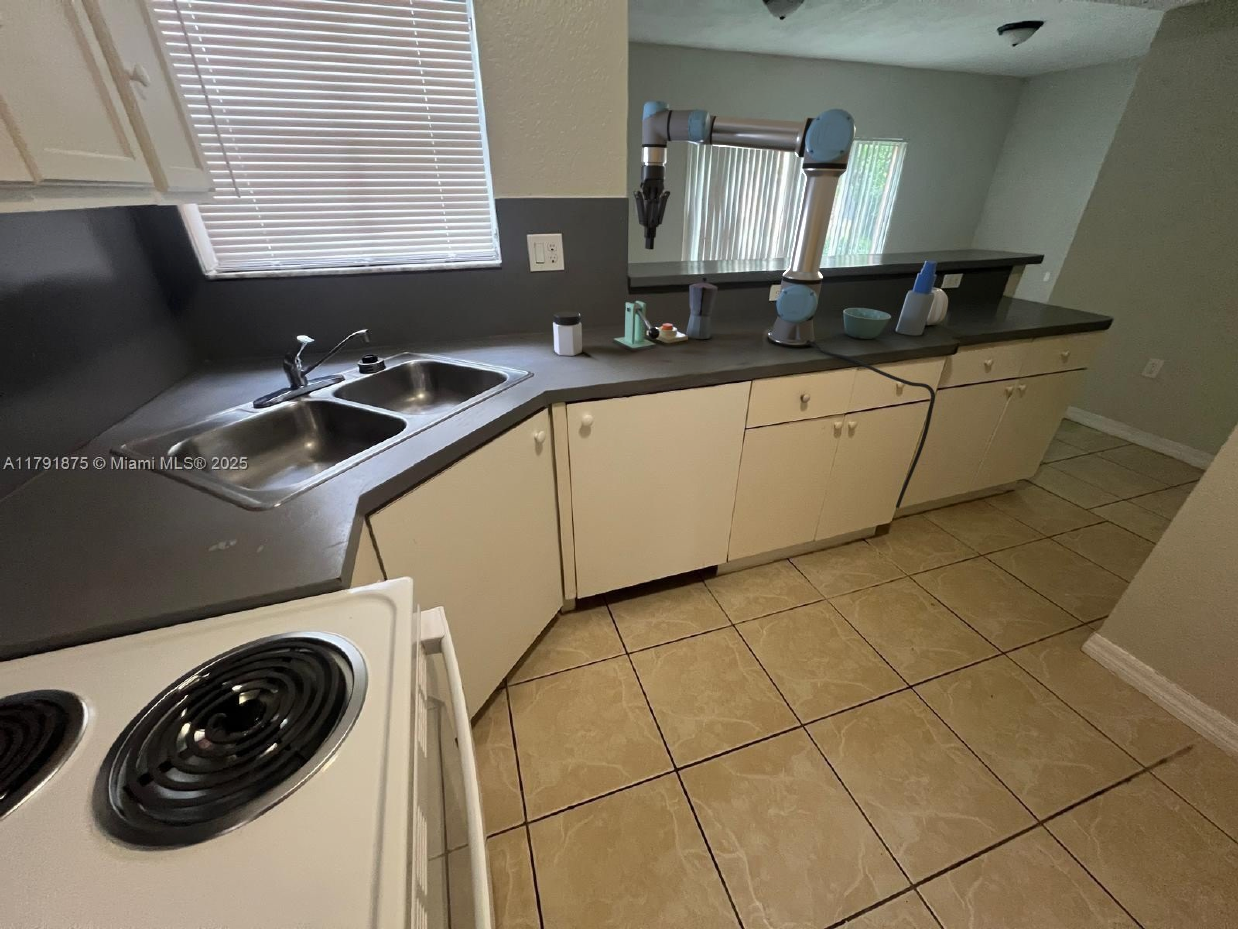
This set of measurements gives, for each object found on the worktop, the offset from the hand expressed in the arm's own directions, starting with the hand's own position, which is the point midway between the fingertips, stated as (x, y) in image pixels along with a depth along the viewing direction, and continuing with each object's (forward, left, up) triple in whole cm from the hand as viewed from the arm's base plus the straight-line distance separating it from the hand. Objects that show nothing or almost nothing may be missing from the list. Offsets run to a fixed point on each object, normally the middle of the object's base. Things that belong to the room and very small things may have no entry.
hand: (649, 248), depth 160 cm
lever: (-12, +10, -21) cm, 26 cm away
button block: (-9, -3, -29) cm, 30 cm away
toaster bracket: (-8, +10, -29) cm, 31 cm away
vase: (-41, -108, -29) cm, 119 cm away
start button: (-9, -3, -25) cm, 27 cm away
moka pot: (-12, -15, -29) cm, 34 cm away
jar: (-4, +33, -29) cm, 44 cm away
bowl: (-40, -69, -29) cm, 85 cm away
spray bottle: (-46, -90, -29) cm, 105 cm away
